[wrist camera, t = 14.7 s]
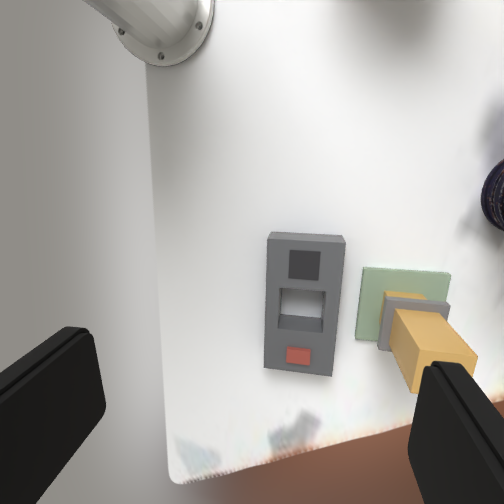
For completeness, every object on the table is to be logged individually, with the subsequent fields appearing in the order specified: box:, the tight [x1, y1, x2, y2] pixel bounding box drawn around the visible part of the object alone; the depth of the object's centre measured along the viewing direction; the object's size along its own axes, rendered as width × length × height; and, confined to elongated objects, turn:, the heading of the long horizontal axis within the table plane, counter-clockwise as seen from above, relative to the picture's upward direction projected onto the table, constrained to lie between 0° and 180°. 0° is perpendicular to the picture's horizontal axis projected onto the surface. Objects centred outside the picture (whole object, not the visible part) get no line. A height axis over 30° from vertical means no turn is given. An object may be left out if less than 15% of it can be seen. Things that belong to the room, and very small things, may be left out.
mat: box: [355, 267, 451, 341], centre depth 39 cm, size 10×10×1 cm
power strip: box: [264, 232, 346, 377], centre depth 39 cm, size 18×9×5 cm, turn 178°
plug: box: [377, 291, 478, 394], centre depth 32 cm, size 6×6×13 cm
